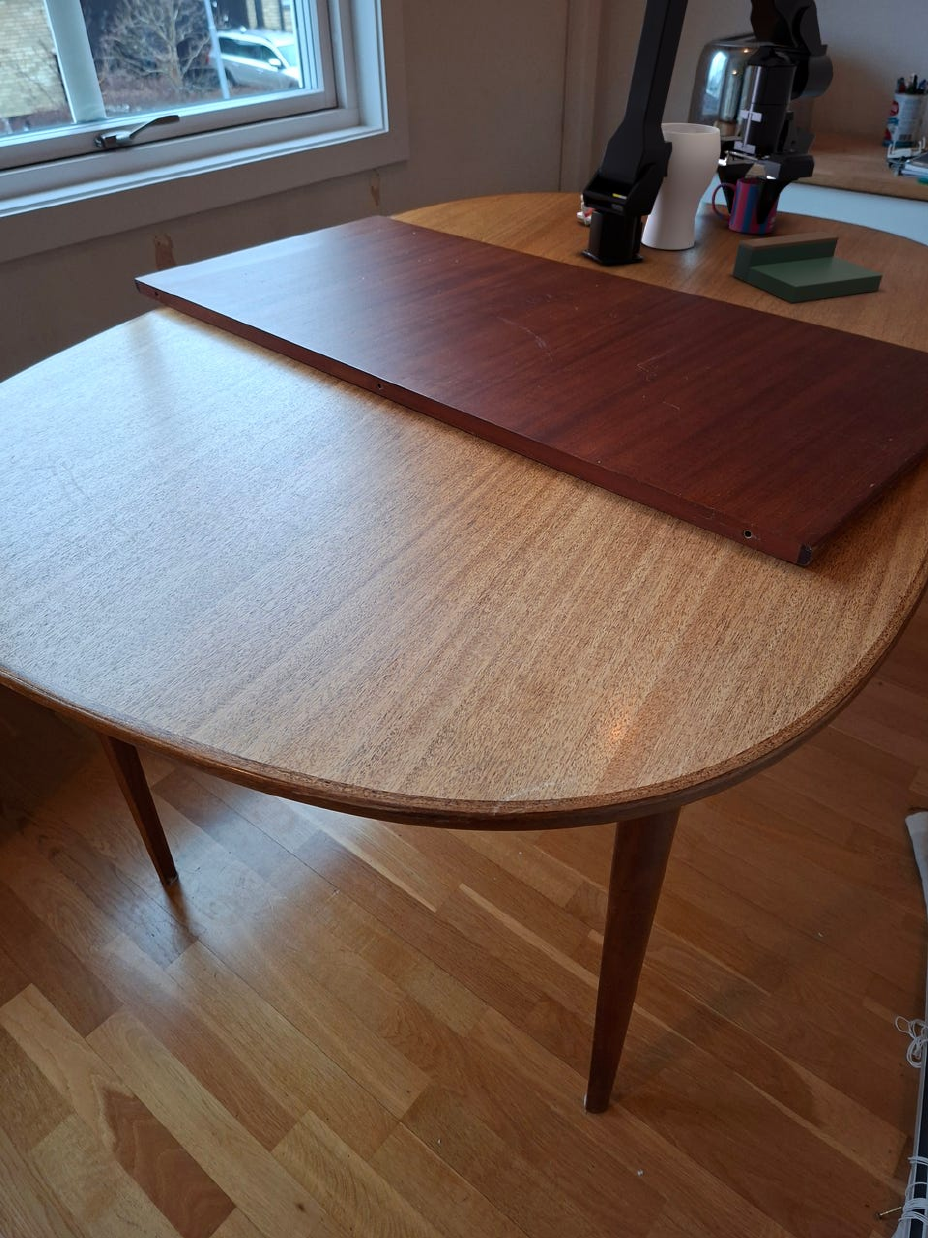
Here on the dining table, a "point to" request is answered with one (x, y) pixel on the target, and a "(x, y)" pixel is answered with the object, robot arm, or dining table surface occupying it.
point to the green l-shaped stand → (801, 267)
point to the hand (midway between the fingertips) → (745, 218)
